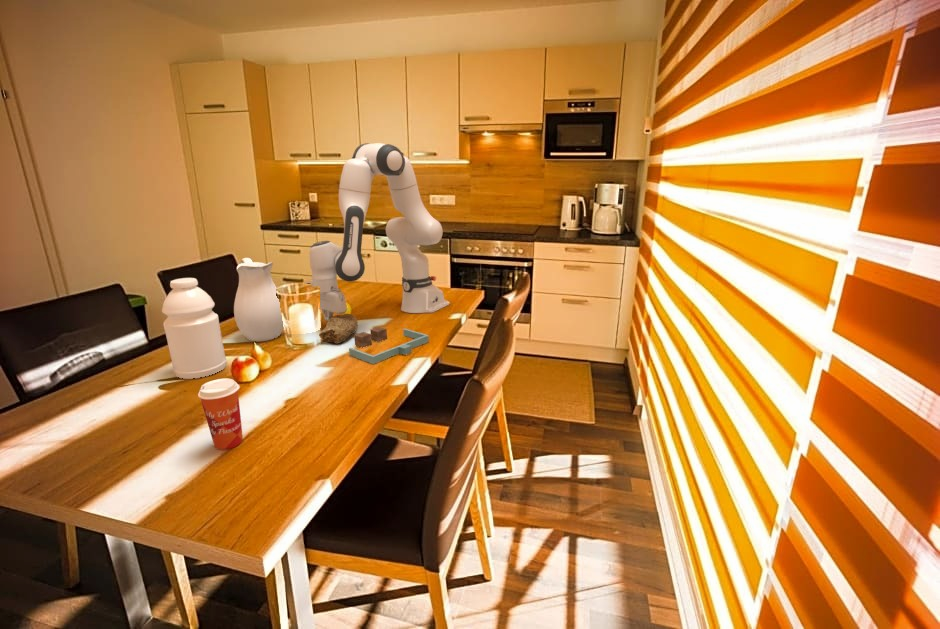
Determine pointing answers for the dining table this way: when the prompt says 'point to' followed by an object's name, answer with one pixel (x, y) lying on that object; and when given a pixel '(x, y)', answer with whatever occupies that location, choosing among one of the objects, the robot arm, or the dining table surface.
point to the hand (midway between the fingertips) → (328, 320)
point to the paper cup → (222, 412)
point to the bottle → (192, 331)
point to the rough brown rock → (339, 328)
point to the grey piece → (400, 349)
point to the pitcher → (257, 302)
